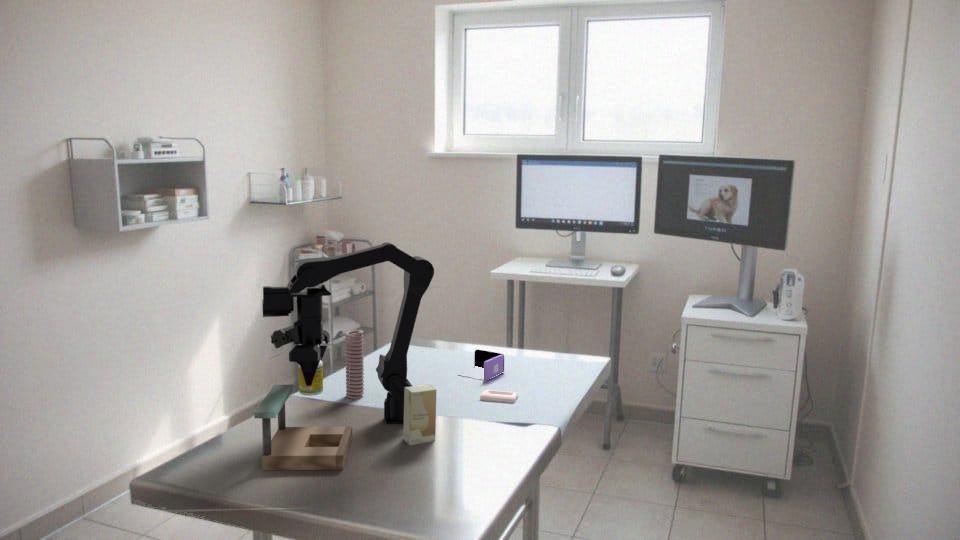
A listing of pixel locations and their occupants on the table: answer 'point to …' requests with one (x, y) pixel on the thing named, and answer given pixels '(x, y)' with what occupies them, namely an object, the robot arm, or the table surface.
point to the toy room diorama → (489, 363)
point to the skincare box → (419, 414)
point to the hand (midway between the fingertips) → (311, 381)
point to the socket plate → (299, 439)
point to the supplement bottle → (316, 384)
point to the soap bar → (499, 396)
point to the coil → (354, 364)
